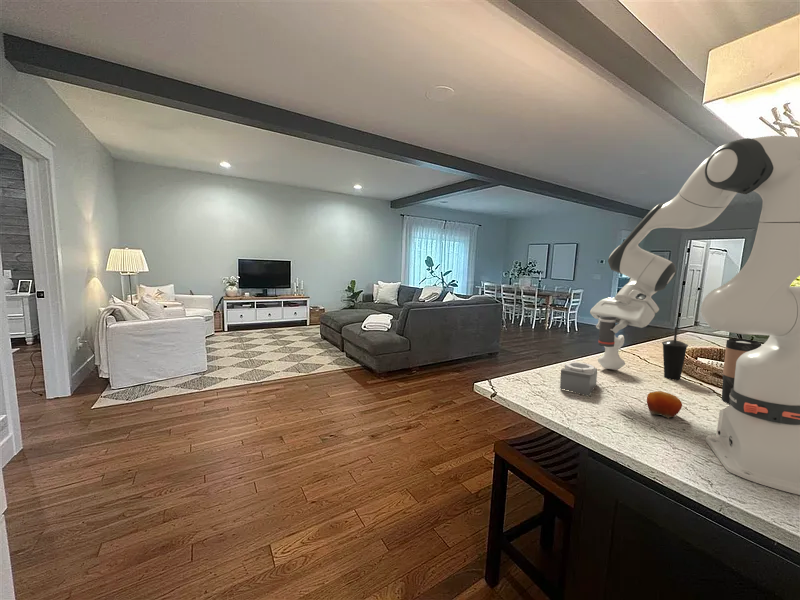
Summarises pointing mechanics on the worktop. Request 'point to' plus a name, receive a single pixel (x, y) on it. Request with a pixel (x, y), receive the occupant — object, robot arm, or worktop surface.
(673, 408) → the fruit
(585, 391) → the grey block with hole
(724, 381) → the travel mug
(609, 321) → the lens
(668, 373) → the drinking cup
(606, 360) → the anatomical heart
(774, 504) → the worktop surface
